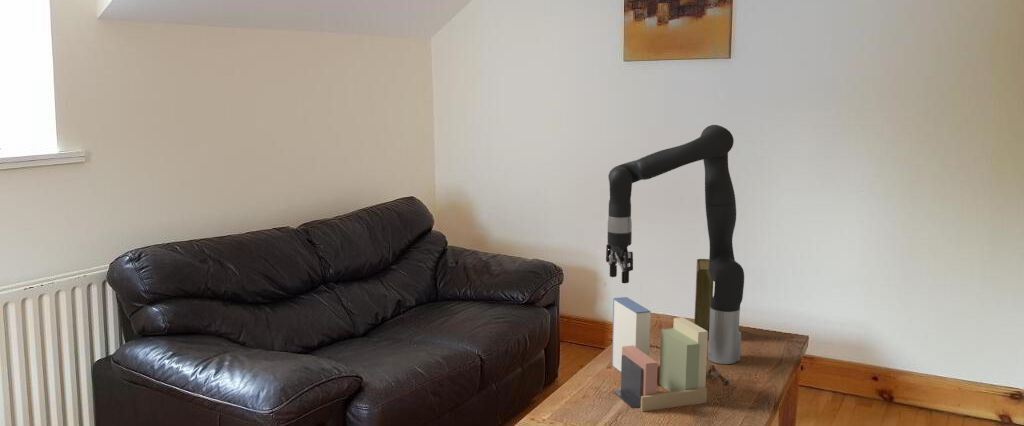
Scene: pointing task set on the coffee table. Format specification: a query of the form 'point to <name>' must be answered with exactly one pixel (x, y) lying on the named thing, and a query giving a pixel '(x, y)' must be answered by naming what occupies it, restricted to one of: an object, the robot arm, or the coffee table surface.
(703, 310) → the book
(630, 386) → the bookend
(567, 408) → the coffee table surface
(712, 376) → the brown irregular piece
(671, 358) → the book rack
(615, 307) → the blue book
